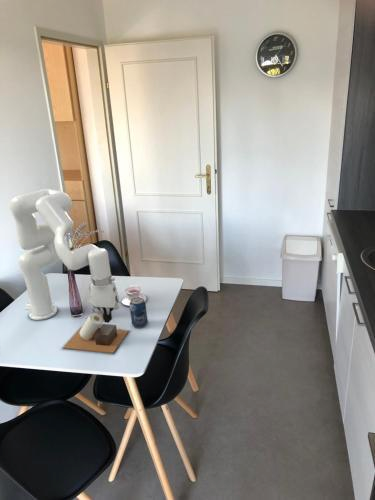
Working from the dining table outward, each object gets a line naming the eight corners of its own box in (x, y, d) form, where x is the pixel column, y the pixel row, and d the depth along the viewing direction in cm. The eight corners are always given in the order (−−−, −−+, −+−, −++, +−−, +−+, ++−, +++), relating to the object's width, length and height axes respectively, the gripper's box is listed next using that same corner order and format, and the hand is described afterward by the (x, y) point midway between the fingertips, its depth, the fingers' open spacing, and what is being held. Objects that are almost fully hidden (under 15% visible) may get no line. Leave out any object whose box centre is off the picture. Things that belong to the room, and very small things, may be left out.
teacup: (144, 306, 199) (143, 294, 197) (119, 307, 200) (118, 295, 197) (147, 294, 210) (146, 283, 208) (123, 295, 211) (122, 284, 209)
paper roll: (78, 341, 173) (73, 316, 169) (85, 333, 179) (81, 309, 174) (101, 343, 171) (98, 319, 166) (108, 335, 176) (104, 311, 172)
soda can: (136, 330, 179) (133, 306, 175) (129, 324, 184) (126, 299, 180) (150, 325, 182) (148, 301, 178) (143, 319, 188) (140, 295, 184)
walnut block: (95, 344, 170) (94, 334, 168) (104, 334, 177) (102, 323, 176) (109, 346, 169) (107, 335, 167) (117, 335, 176) (115, 324, 174)
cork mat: (63, 348, 170) (63, 347, 170) (82, 327, 184) (81, 326, 184) (113, 353, 164) (113, 352, 164) (128, 331, 179) (128, 330, 179)
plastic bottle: (105, 319, 190) (99, 279, 182) (91, 319, 191) (84, 279, 184) (110, 312, 195) (104, 273, 188) (97, 311, 197) (90, 273, 190)
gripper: (123, 276, 164) (128, 317, 171) (88, 275, 168) (95, 315, 175) (115, 285, 157) (121, 327, 164) (79, 283, 161) (87, 324, 168)
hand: (108, 321), depth 169 cm, fingers closed
